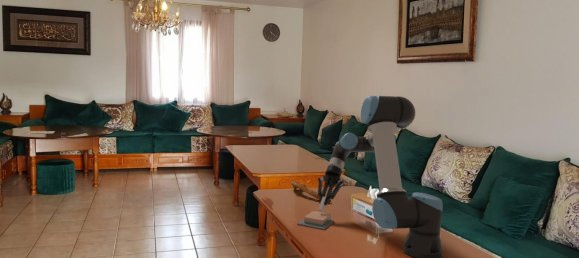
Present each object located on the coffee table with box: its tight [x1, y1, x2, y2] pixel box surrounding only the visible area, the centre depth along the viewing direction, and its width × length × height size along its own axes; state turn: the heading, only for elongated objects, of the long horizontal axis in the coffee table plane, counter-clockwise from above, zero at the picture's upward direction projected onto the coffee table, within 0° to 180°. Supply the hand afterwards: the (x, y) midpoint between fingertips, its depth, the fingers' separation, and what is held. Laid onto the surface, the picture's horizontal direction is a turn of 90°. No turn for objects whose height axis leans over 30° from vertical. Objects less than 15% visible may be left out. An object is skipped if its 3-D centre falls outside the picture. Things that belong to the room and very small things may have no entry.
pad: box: [297, 218, 335, 231], centre depth 214 cm, size 13×13×1 cm
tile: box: [303, 210, 332, 226], centre depth 216 cm, size 9×2×11 cm
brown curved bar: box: [290, 180, 332, 204], centre depth 261 cm, size 33×8×10 cm, turn 27°
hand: (320, 210), depth 218 cm, fingers closed
